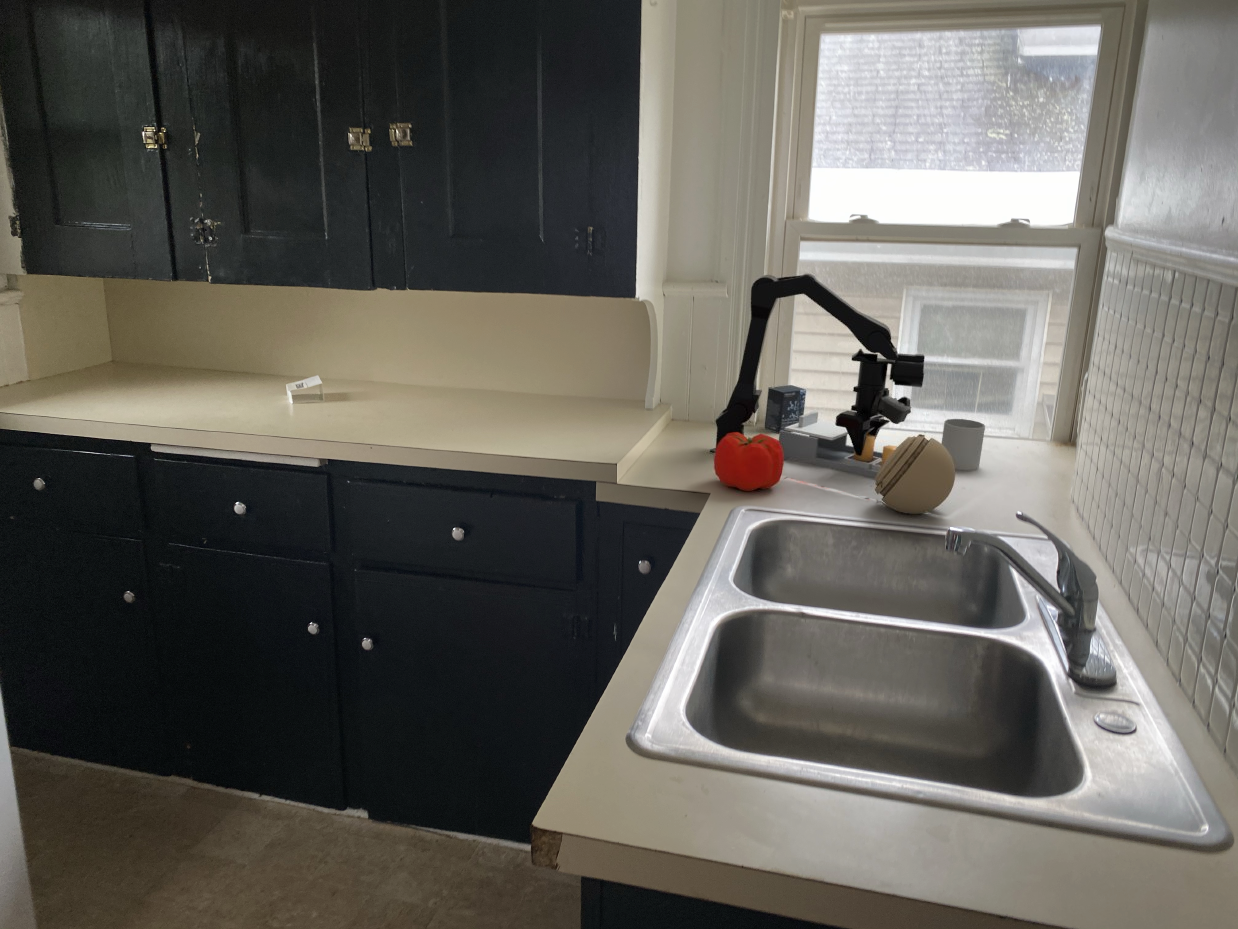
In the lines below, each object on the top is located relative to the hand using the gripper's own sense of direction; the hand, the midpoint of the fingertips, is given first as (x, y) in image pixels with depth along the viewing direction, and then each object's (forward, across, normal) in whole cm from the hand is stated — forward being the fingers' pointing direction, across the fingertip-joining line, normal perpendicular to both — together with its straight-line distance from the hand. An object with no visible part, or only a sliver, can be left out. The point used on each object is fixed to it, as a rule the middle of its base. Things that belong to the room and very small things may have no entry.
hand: (863, 453), depth 208 cm
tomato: (+3, -30, +11) cm, 32 cm away
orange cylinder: (+2, 0, -6) cm, 7 cm away
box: (+3, +16, +28) cm, 33 cm away
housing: (+3, 0, +4) cm, 5 cm away
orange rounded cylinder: (+1, 0, 0) cm, 1 cm away
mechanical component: (+3, -21, -19) cm, 29 cm away
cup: (+3, +16, -16) cm, 23 cm away
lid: (-3, 0, +10) cm, 11 cm away
